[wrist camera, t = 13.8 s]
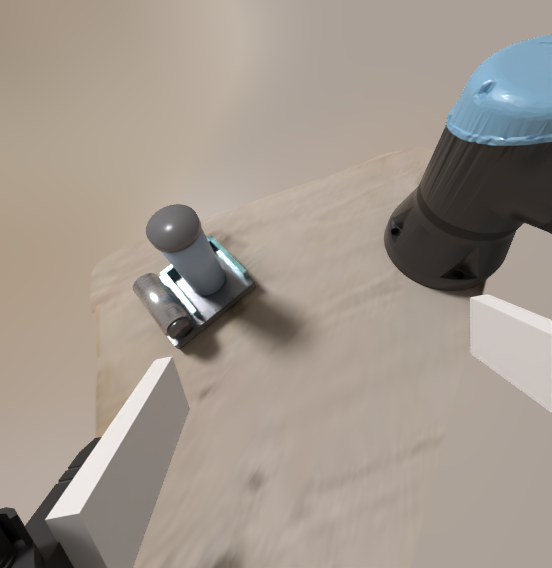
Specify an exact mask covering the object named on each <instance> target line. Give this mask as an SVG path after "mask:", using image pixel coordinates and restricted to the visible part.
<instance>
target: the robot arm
mask: <svg viewBox="0 0 552 568" xmlns="http://www.w3.org/2000/svg"><path fill="white" fill-rule="evenodd" d="M523 223H527V224H529V225H532V226H534V227H537V228H540V229H542V230H544V231H547V232H549V233H551V234H552V34H551V35H545V36H540V37H535V38H532V39H529V40H525V41H521V42H518V43H515V44H512V45H510V46H508V47H505V48H503V49H501V50H500V51H498V52H497V53H495V54H493V55H492V56H490V57H489V58H487V59H486V60H485V61H484V62H483V63H482V64H480V66H479V67H478V68H477V69H476V70H475V71H474V73H473V74H472V76H471V77H470V79H469V80H468V82H467V84H466V86H465V88H464V90H463V92H462V94H461V96H460V98H459V99H458V101H457V103H456V104H455V106H454V107H453V108H452V109H451V111H450V113H449V115H448V117H447V124H446V127H445V129H444V131H443V133H442V136H441V138H440V140H439V142H438V145H437V147H436V149H435V151H434V153H433V155H432V158H431V160H430V162H429V164H428V167H427V169H426V171H425V173H424V175H423V177H422V180H421V182H420V184H419V186H418V187H417V188H416V189H415V190H414V191H413V192H412V193H411V194H410V195H409V196H408V197H407V198H406V199H405V200H404V201H403V202H402V203H401V204H400V205H399V206H398V207H397V208H396V209H395V210H394V212H393V213H392V215H391V217H390V219H389V222H388V224H387V227H386V230H385V235H384V242H385V247H386V250H387V253H388V255H389V257H390V259H391V260H392V262H393V263H394V264H395V266H396V267H397V268H398V269H399V270H400V271H401V272H402V273H404V274H405V275H406V276H408V277H409V278H411V279H412V280H414V281H416V282H418V283H420V284H423V285H425V286H428V287H431V288H435V289H441V290H462V289H467V288H471V287H474V286H476V285H478V284H480V283H482V282H483V281H485V280H486V279H487V278H488V277H490V276H491V275H492V274H493V273H494V272H495V271H496V270H497V269H498V268H499V267H500V266H501V264H502V263H503V261H504V260H505V257H506V255H507V252H508V250H509V247H510V245H511V242H512V240H513V237H514V235H515V232H516V230H517V229H518V228H519V227H520V226H521V225H522V224H523ZM470 331H471V354H472V355H473V356H475V357H476V358H478V359H479V360H480V361H482V362H483V363H484V364H486V365H487V366H488V367H490V368H491V369H493V370H494V371H495V372H497V373H498V374H499V375H501V376H502V377H503V378H505V379H506V380H508V381H509V382H510V383H512V384H513V385H514V386H516V387H517V388H518V389H520V390H521V391H523V392H524V393H525V394H527V395H528V396H530V397H531V398H532V399H534V400H535V401H536V402H538V403H539V404H540V405H542V406H543V407H545V408H546V409H547V410H549V411H550V412H551V413H552V320H550V319H548V318H545V317H543V316H541V315H538V314H536V313H533V312H531V311H528V310H526V309H523V308H521V307H519V306H516V305H513V304H511V303H509V302H506V301H504V300H501V299H499V298H496V297H494V296H491V295H489V294H486V295H480V296H475V297H470ZM189 409H190V408H189V405H188V402H187V399H186V396H185V393H184V390H183V387H182V384H181V381H180V378H179V375H178V372H177V369H176V366H175V363H174V360H173V357H167V358H162V359H157V360H155V361H154V362H153V364H152V365H151V367H150V368H149V369H148V371H147V372H146V374H145V375H144V377H143V378H142V380H141V381H140V383H139V384H138V385H137V387H136V388H135V390H134V391H133V393H132V394H131V396H130V397H129V399H128V400H127V401H126V403H125V404H124V406H123V407H122V409H121V410H120V412H119V413H118V414H117V416H116V417H115V419H114V420H113V422H112V423H111V425H110V426H109V428H108V429H107V430H106V432H105V433H104V435H103V436H102V437H99V438H95V439H94V440H93V441H91V442H90V443H89V444H88V445H87V446H86V447H85V448H84V449H83V450H81V452H79V454H78V455H77V456H76V458H75V459H74V460H73V462H72V463H71V464H70V466H69V467H68V470H67V471H65V473H64V474H63V475H62V477H61V478H60V479H59V483H58V484H56V485H55V486H54V488H53V489H52V490H51V492H50V493H49V494H48V496H47V497H46V498H45V500H44V501H43V502H42V504H41V505H40V506H39V508H38V509H37V511H36V512H35V513H34V515H33V516H32V517H31V519H30V520H29V521H28V523H27V524H26V525H25V526H24V524H23V522H22V521H21V519H20V517H19V516H18V514H17V512H16V511H15V509H13V508H7V507H6V508H2V509H0V568H133V565H134V562H135V559H136V557H137V554H138V551H139V548H140V546H141V543H142V540H143V537H144V534H145V532H146V529H147V526H148V523H149V520H150V518H151V515H152V512H153V509H154V507H155V504H156V501H157V498H158V495H159V493H160V490H161V487H162V484H163V481H164V479H165V476H166V473H167V470H168V467H169V465H170V462H171V459H172V456H173V454H174V451H175V448H176V445H177V442H178V440H179V437H180V434H181V431H182V428H183V426H184V423H185V420H186V417H187V415H188V412H189Z"/></svg>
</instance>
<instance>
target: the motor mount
mask: <svg viewBox="0 0 552 568" xmlns="http://www.w3.org/2000/svg"><path fill="white" fill-rule="evenodd" d="M207 240H208V242H209V243H210V245H211V247H212V249H213V251H214V253H215V255H216V257H217V259H218V261H219V263H220V265H221V267H222V269H223V271H224V273H225V281H224V284H223V285H222V287H221V288H220V289H219V290H218V291H217V292H215V293H213V294H210V295H199V294H197V293H195V292H194V291H193V290H192V289H191V288H190V286H189V285H188V284H187V283H186V281H185V280H184V279H183V278H182V277H181V275H180V274H179V273H178V272H177V270H176V269H175V268H174V267H173V266H172V264H171V265H170V266H169V267H167V268H166V269H165V270H163V271H162V272H160V274H161V275H162V276H161V277H160V278H159V276H158V275H157V274H154V273H149V274H145V275H143V276H141V277H139V278H138V279H137V280H136V281H135V283H134V285H133V291H134V292H135V294H136V295H137V296H138V298H139V299H140V301H141V302H142V303H143V305H144V306H145V307H146V309H147V310H148V312H149V313H150V314H151V316H152V317H153V319H154V320H155V321H156V323H157V324H158V326H159V327H160V328H161V330H162V331H163V332H164V334H165V335H166V336H168V338H169V339H170V341H171V342H172V343H173V345H174V346H175V347H176V348H178V349H180V348H181V347H183V346H184V345H185V344H186V343H188V342H189V341H190V340H191V339H193V338H194V337H195V336H196V335H197V334H199V333H200V332H201V331H202V330H204V329H205V328H206V327H207V326H208V325H210V324H211V323H212V322H213V321H215V320H216V319H217V318H218V317H219V316H221V315H222V314H223V313H224V312H226V311H227V310H228V309H229V308H230V307H232V306H233V305H234V304H235V303H237V302H238V301H239V300H240V299H241V298H243V297H244V296H245V295H246V294H248V293H249V292H250V291H251V290H252V289H254V288H255V287H256V286H255V283H254V281H253V280H252V279H251V278H250V277H249V276H248V273H247V271H246V270H245V269H244V268H243V267H242V266H241V265H240V264H239V263H238V262H237V261H236V260H235V259H234V258H233V257H232V256H231V255H230V254H229V253H228V252H227V251H226V250H225V249H224V248H223V247H222V246H221V245H220V244H219V243H218V242H217V241H216V240H215V239H214V238H213V237H212V236H210V237H209V238H207Z"/></svg>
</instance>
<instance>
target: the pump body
mask: <svg viewBox="0 0 552 568" xmlns="http://www.w3.org/2000/svg"><path fill="white" fill-rule="evenodd" d="M146 234H147V237H148V239H149V241H150V242H151V243H152V244H153V245H154V247H155V248H156V249H158V250H160V251H161V252H162V253H163V254H164V256H165V257H166V258H167V259H168V261H169V262H170V263H171V264H172V266H173V267H174V268H175V269H176V270H177V272H178V273H179V274H180V275H181V277H182V278H183V279H184V280H185V281H186V283H187V284H188V285H189V286H190V288H191V289H192V290H193V291H194V292H195V293H197V294H199V295H210V294H213V293H215V292H217V291H218V290H219V289H220V288H221V287H222V285H223V284H224V281H225V273H224V271H223V269H222V267H221V265H220V263H219V261H218V259H217V257H216V255H215V253H214V251H213V249H212V247H211V245H210V243H209V242H208V240H207V238H206V236H205V234H204V232H203V230H202V228H201V222H200V220H199V218H198V216H197V214H196V212H195V211H194V210H193V209H192V208H190V207H188V206H185V205H180V204H179V205H178V204H176V205H170V206H167V207H164V208H162V209H160V210H159V211H157V212H156V213H155V214H154V215H153V216H152V217H151V218H150V220H149V222H148V224H147V227H146Z"/></svg>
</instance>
